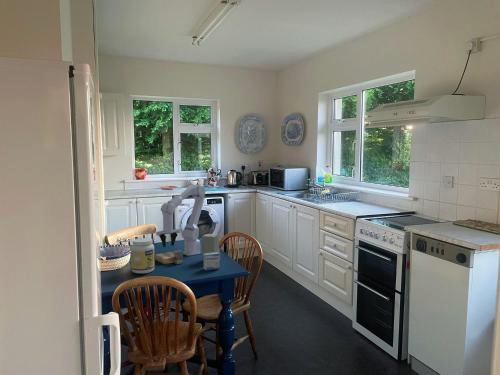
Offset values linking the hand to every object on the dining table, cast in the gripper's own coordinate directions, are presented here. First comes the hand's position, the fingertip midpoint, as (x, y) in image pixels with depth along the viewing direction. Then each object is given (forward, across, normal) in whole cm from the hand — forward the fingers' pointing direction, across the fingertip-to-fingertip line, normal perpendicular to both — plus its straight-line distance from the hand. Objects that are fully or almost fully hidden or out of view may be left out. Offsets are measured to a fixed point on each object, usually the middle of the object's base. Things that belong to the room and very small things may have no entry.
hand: (168, 246), depth 225 cm
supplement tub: (+9, +20, +10) cm, 24 cm away
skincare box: (+9, -19, +17) cm, 27 cm away
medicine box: (+9, -11, +30) cm, 33 cm away
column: (+9, -2, +9) cm, 12 cm away
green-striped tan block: (+9, 0, 0) cm, 9 cm away
